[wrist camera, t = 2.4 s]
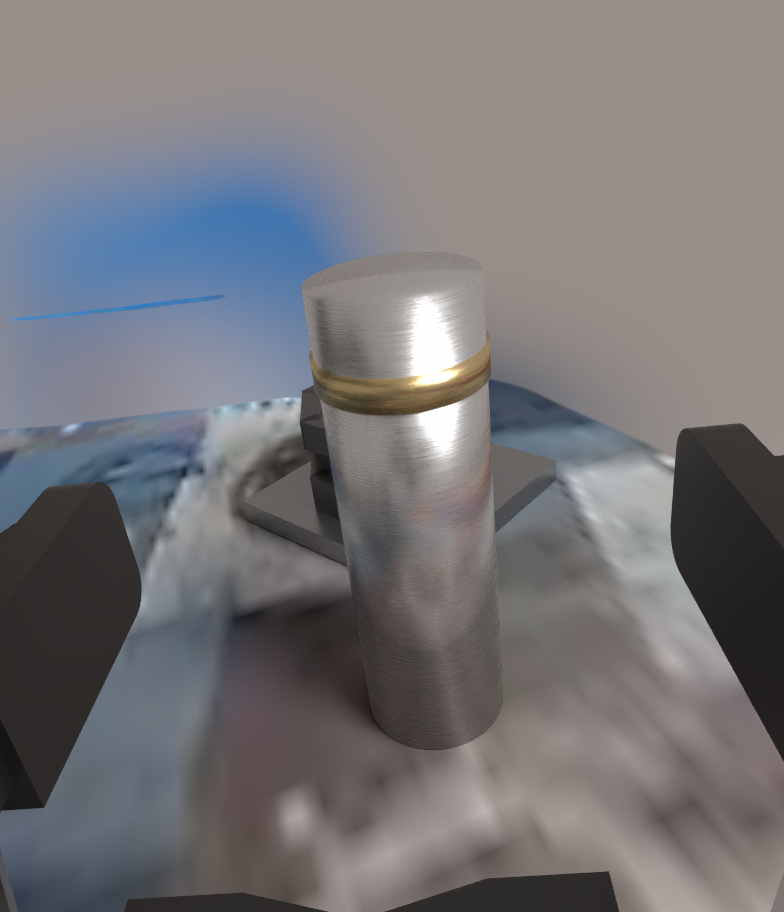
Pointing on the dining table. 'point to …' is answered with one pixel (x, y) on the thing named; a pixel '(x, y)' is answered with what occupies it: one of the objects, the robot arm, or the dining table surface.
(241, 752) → the dining table surface
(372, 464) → the steel tube
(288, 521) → the collar stand
